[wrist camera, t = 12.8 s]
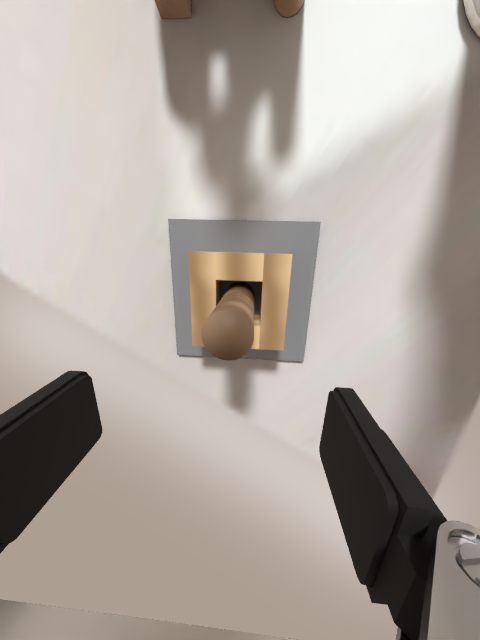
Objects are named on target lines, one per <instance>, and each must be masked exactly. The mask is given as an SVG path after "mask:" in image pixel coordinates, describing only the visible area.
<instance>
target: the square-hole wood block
mask: <svg viewBox="0 0 480 640" xmlns="http://www.w3.org/2000/svg"><path fill="white" fill-rule="evenodd" d="M188 254H189V277H190V300H191V324H192V346H203V347H205V346H204V344H203V342H202V337H201V332H202V327H203V325H204V323H205V321H206V320H207V319H208V317H209V316H210V314H211V313H212V312H213V310H214V309H215V307H216V306H217V304H218V303H219V302H220V300H221V299H222V280H233V281H261V295H260V314H259V315H254V341H253V345H252V347H251V349H263V350H282V351H284V341H285V330H286V319H287V308H288V297H289V287H290V276H291V265H292V254H281V253H244V252H207V251H188Z"/></svg>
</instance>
